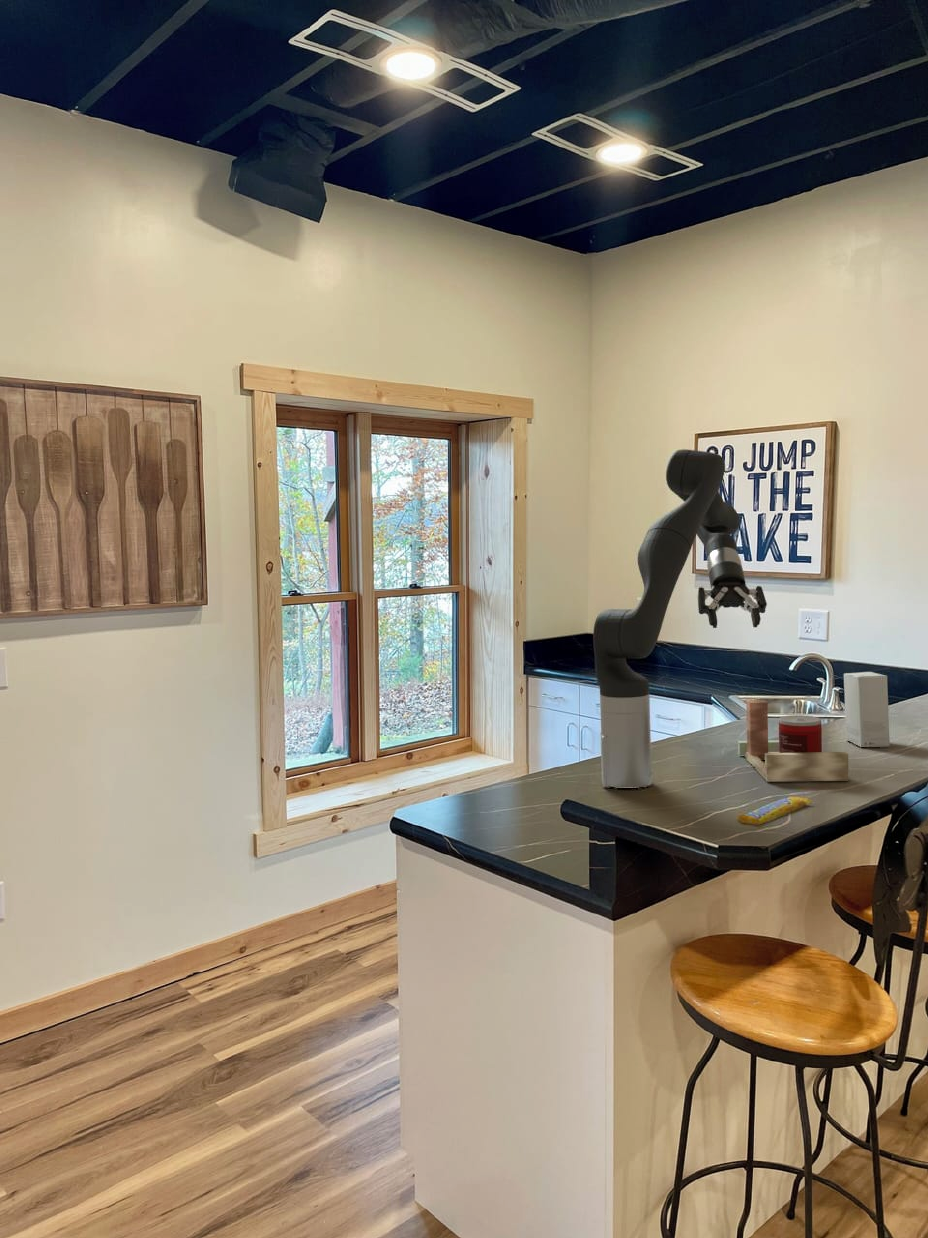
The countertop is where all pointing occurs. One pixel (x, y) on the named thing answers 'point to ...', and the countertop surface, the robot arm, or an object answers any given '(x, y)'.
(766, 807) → the candy bar
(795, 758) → the shallow wooden tray
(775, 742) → the stop rail
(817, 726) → the canned food
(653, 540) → the robot arm
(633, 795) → the countertop surface
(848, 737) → the skincare box
